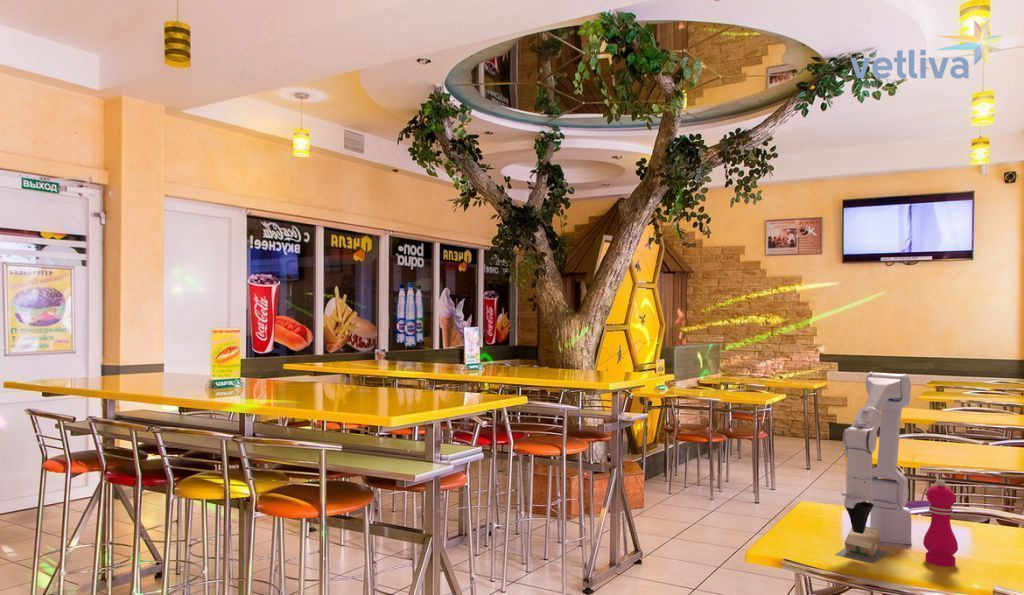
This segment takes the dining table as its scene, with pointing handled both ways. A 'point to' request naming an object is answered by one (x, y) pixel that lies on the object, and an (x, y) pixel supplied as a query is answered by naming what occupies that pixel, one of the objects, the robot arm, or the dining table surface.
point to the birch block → (863, 542)
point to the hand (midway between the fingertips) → (858, 532)
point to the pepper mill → (940, 527)
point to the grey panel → (876, 557)
